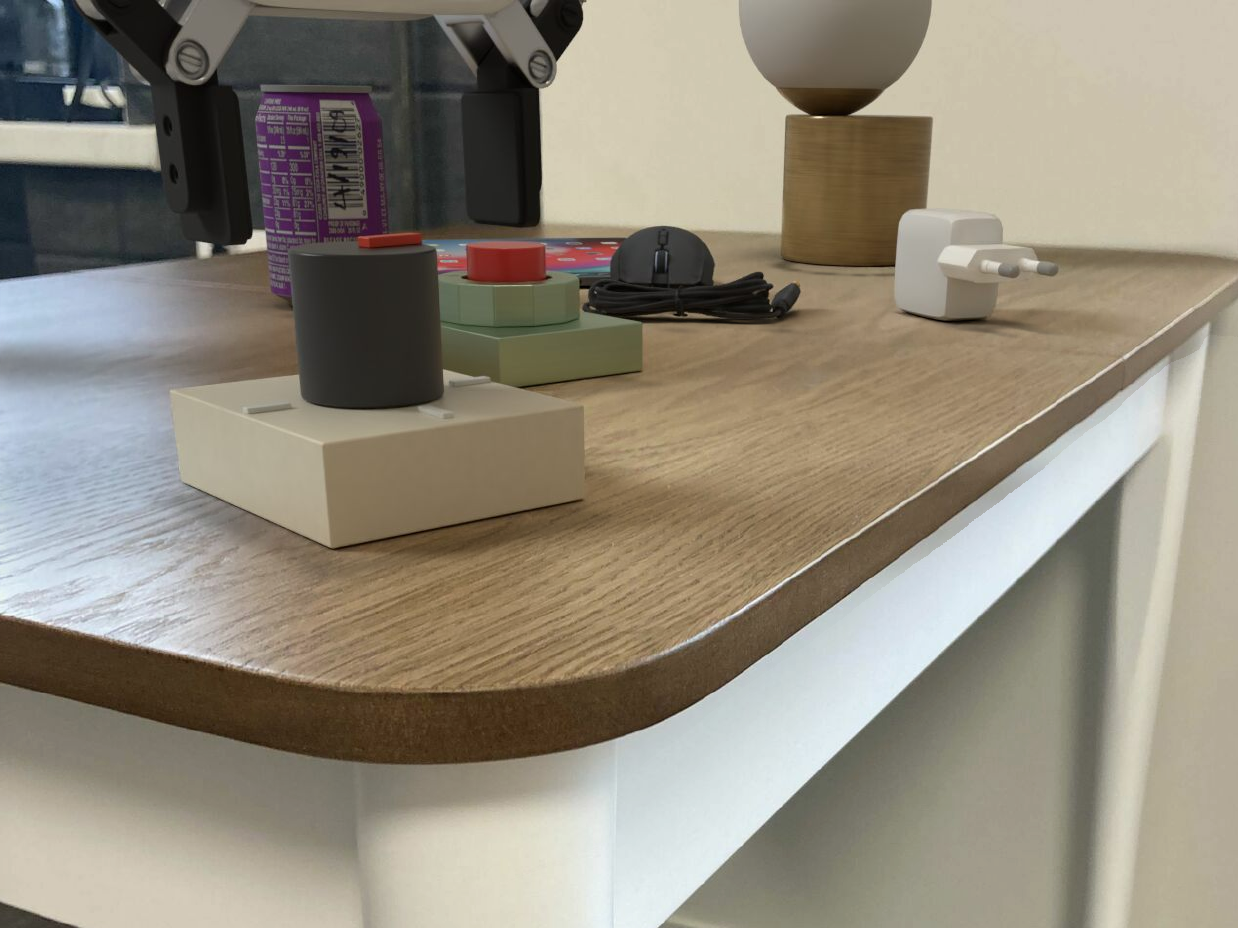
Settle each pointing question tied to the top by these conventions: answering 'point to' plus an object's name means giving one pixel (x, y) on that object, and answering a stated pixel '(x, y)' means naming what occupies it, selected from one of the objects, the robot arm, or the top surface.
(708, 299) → the computer mouse
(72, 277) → the top surface
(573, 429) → the control box
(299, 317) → the knob
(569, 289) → the switch block
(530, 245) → the power button
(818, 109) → the lamp
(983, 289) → the power adapter
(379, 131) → the beverage can
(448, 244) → the tablet
